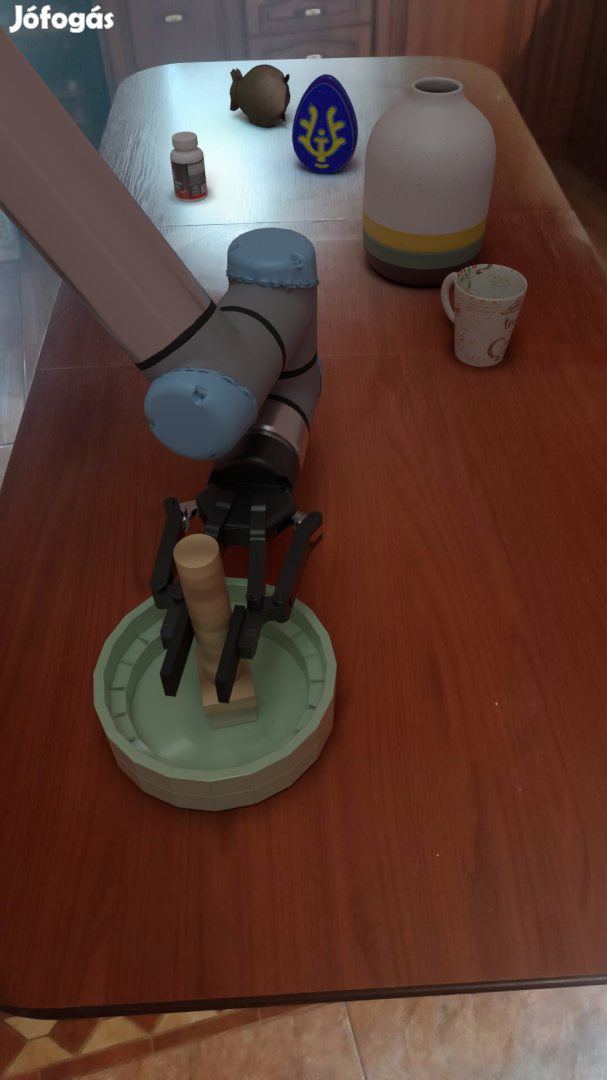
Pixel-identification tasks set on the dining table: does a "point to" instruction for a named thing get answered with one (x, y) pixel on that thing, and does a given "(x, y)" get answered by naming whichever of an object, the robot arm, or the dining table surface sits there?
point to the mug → (483, 311)
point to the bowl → (186, 733)
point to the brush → (212, 628)
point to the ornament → (325, 126)
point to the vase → (427, 184)
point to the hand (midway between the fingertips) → (194, 688)
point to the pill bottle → (188, 168)
